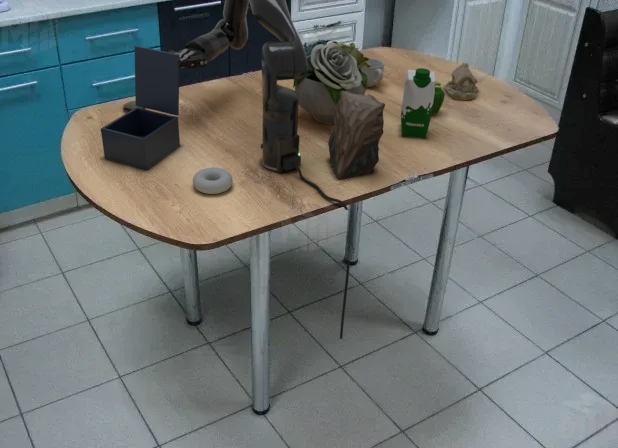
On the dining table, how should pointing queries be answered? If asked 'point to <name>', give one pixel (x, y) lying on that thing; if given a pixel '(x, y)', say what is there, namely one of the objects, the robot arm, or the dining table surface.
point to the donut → (206, 177)
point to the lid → (157, 80)
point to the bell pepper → (437, 99)
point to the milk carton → (417, 102)
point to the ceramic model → (462, 83)
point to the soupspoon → (131, 105)
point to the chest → (140, 138)
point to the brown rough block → (355, 135)
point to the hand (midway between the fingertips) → (170, 67)
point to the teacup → (373, 72)
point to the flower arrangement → (330, 77)
